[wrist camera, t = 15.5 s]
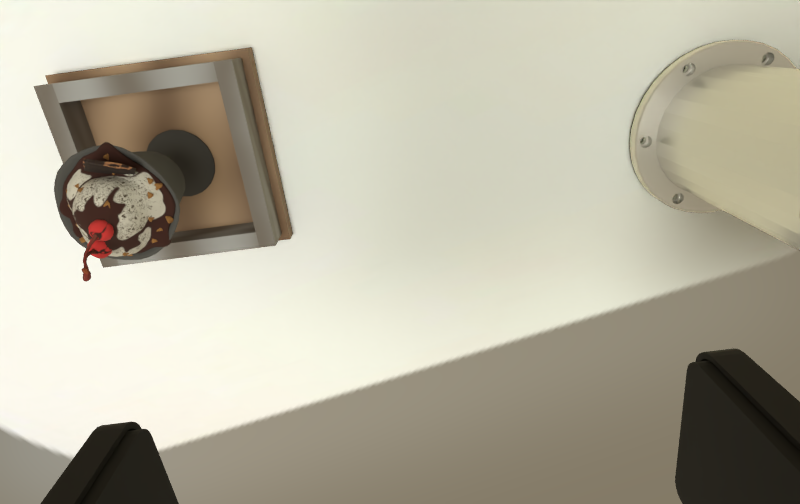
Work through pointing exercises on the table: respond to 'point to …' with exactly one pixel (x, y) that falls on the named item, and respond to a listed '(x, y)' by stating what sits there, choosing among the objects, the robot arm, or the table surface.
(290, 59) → the table surface
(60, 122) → the stand
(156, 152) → the sundae
